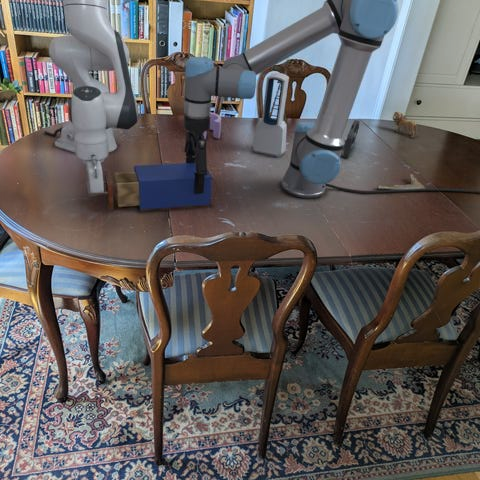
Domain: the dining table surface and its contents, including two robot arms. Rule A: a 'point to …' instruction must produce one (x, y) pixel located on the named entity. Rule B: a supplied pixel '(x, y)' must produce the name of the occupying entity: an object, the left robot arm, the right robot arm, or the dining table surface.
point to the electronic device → (272, 121)
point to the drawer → (121, 189)
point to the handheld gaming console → (351, 139)
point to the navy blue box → (171, 187)
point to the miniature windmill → (278, 68)
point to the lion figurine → (404, 123)
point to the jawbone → (414, 185)
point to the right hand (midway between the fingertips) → (194, 184)
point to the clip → (214, 125)
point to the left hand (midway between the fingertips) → (95, 193)
